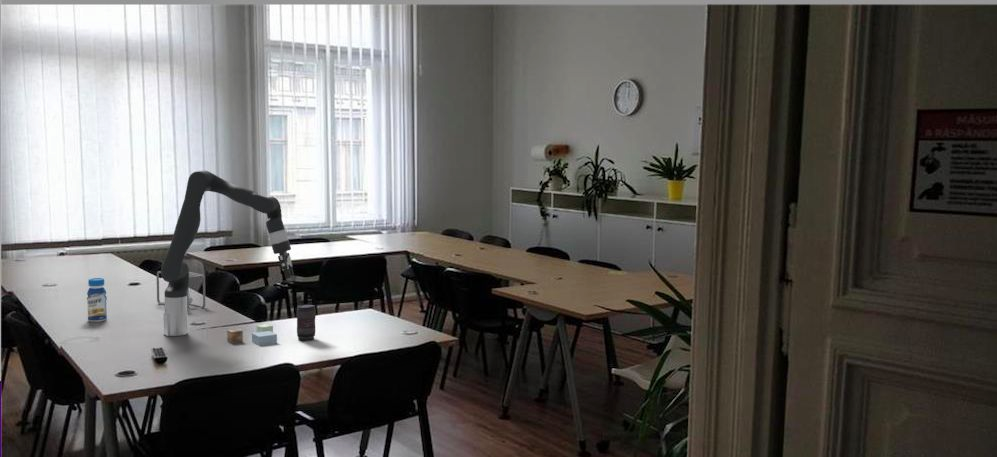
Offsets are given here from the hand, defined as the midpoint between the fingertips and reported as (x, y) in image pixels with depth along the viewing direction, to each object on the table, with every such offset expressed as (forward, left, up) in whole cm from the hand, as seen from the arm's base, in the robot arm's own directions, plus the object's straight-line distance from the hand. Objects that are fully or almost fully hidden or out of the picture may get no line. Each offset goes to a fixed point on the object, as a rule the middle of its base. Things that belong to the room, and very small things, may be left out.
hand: (290, 277), depth 346 cm
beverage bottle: (-61, +85, -28) cm, 108 cm away
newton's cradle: (-19, +101, -28) cm, 106 cm away
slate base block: (-11, +1, -28) cm, 30 cm away
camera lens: (+6, -4, -28) cm, 29 cm away
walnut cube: (-21, +9, -28) cm, 36 cm away
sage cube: (-7, +11, -28) cm, 31 cm away
